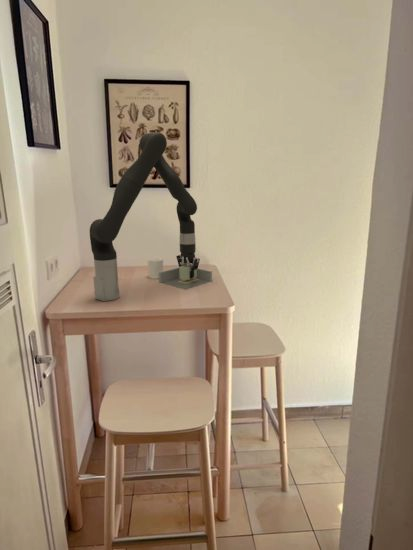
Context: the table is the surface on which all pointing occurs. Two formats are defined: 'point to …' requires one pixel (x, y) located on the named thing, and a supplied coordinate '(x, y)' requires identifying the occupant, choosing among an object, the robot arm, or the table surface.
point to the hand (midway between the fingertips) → (188, 277)
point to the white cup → (155, 267)
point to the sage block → (186, 273)
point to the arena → (173, 279)
